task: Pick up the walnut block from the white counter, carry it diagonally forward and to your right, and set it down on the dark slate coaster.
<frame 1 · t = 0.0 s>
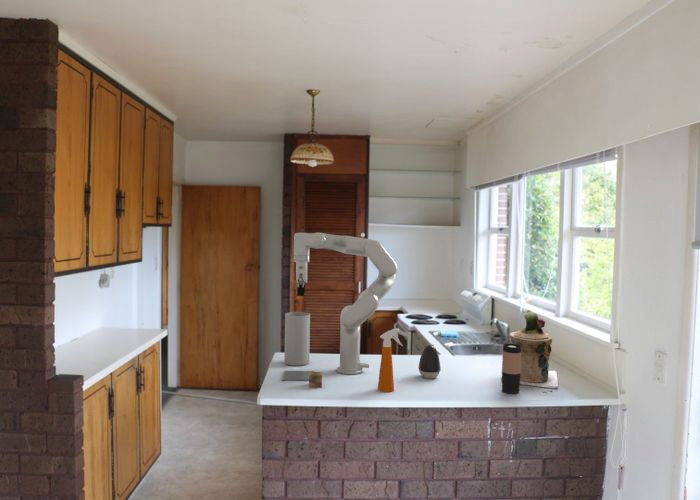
hand: (301, 294, 246), 37 cm above the table, tool pointing down, fingers open, 9 cm apart
cookie jar: (529, 379, 242), on the table
black egg ornament: (429, 377, 242), on the table
travel mug: (510, 392, 222), on the table
walnut block: (315, 385, 225), on the table
spray bottle: (389, 390, 221), on the table
slate coaster: (298, 376, 238), on the table
cylinder vase: (296, 363, 261), on the table
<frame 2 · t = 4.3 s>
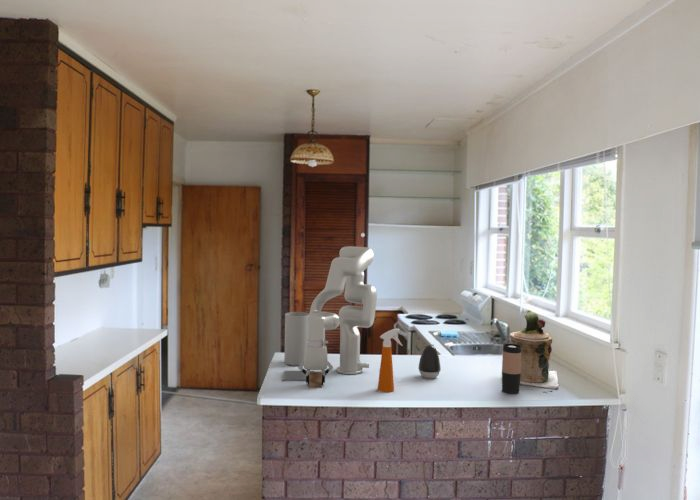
hand: (315, 384, 225), 1 cm above the table, tool pointing down, fingers closed on walnut block, 5 cm apart
walnut block: (315, 385, 225), on the table, touching gripper
everything else where it was.
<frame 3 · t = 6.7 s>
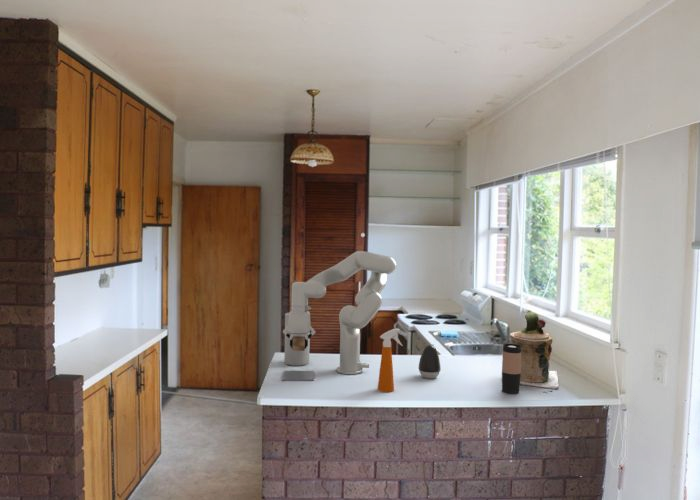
hand: (298, 347, 238), 13 cm above the table, tool pointing down, fingers closed on walnut block, 5 cm apart
walnut block: (298, 349, 238), point 13 cm above the table, touching gripper
everything else where it was.
when the fingers open (3 cm above the table, at t = 9.3 s): walnut block drops 1 cm, resting on slate coaster.
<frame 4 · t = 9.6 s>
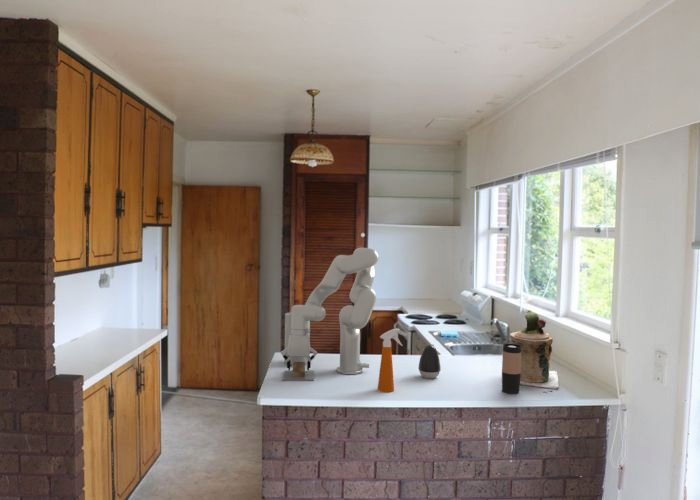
hand: (298, 369, 238), 3 cm above the table, tool pointing down, fingers open, 8 cm apart
walnut block: (298, 374, 238), point 1 cm above the table, touching slate coaster
everything else where it was.
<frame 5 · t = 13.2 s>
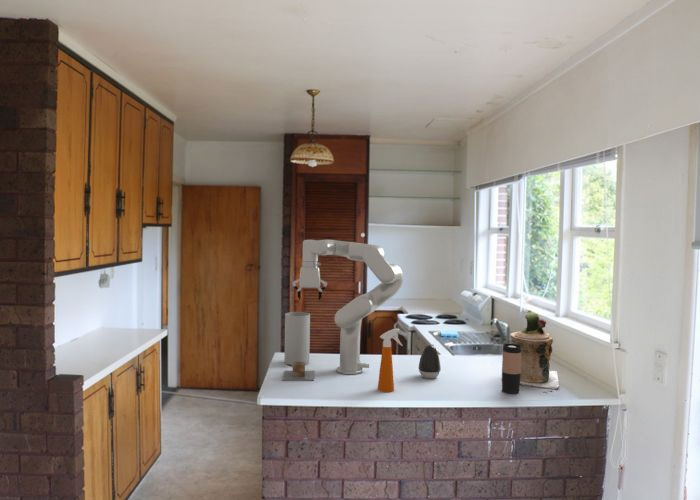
hand: (309, 299, 254), 33 cm above the table, tool pointing down, fingers open, 9 cm apart
nothing on the table moved.
at the end: walnut block inside the target area on the slate coaster (0.1 cm from its centre), point 0.6 cm above the slate coaster's base; walnut block tilted 0°; the gripper is holding nothing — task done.
